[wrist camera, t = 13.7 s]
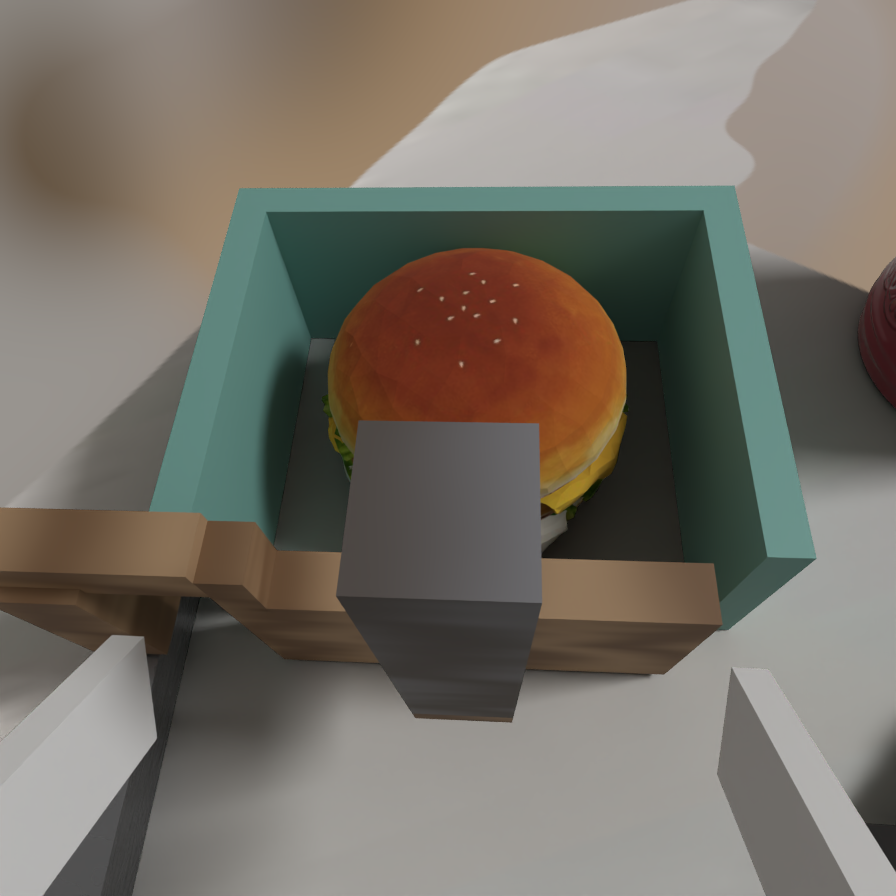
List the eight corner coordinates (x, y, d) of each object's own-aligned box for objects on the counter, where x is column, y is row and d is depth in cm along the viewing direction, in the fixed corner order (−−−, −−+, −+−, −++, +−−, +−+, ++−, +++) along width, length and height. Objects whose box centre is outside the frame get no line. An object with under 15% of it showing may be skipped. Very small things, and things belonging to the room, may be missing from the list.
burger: (553, 314, 38) (573, 163, 30) (661, 528, 32) (728, 416, 23) (320, 380, 37) (269, 242, 28) (384, 617, 31) (344, 534, 22)
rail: (217, 518, 33) (198, 497, 31) (-7, 1503, 19) (-71, 1590, 17) (177, 517, 33) (155, 496, 31) (-75, 1494, 19) (-147, 1580, 17)
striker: (658, 614, 30) (909, 307, 12) (672, 753, 27) (1018, 619, 9) (141, 596, 31) (-303, 300, 14) (106, 726, 28) (-502, 567, 11)
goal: (682, 319, 38) (734, 185, 30) (727, 629, 29) (816, 558, 22) (289, 316, 39) (239, 188, 31) (228, 611, 31) (140, 538, 23)
